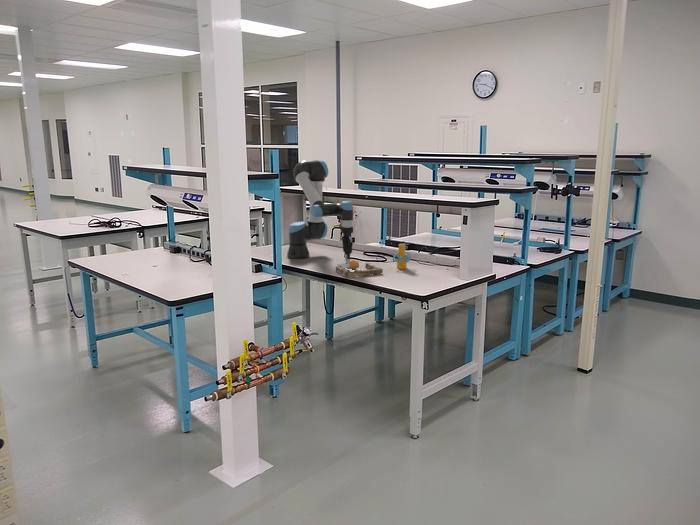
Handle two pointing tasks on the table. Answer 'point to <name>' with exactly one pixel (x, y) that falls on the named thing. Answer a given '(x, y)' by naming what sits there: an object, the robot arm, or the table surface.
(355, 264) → the ball
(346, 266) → the lane tape
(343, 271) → the pin pen
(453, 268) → the table surface
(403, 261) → the orange toy figure
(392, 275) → the table surface
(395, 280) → the table surface
